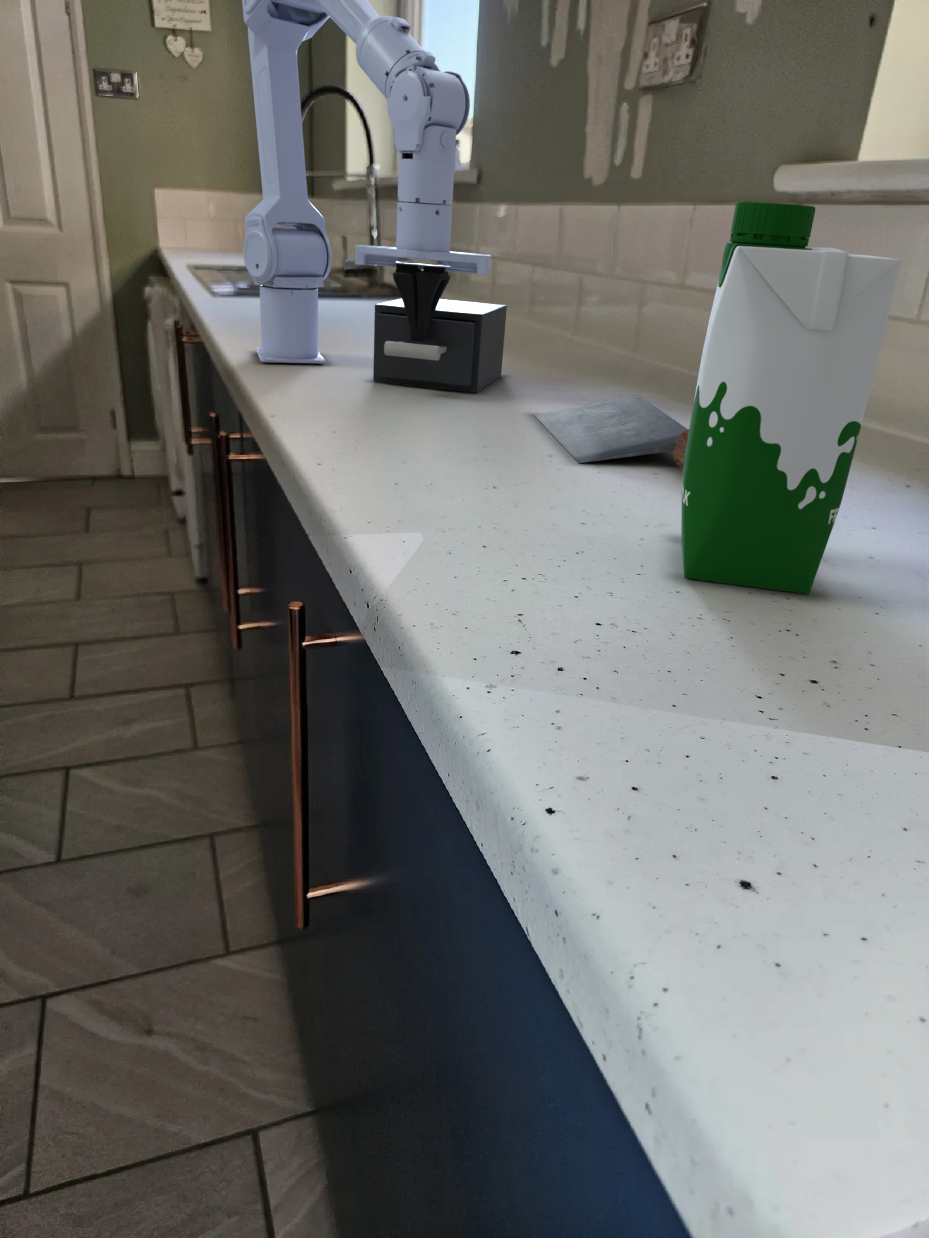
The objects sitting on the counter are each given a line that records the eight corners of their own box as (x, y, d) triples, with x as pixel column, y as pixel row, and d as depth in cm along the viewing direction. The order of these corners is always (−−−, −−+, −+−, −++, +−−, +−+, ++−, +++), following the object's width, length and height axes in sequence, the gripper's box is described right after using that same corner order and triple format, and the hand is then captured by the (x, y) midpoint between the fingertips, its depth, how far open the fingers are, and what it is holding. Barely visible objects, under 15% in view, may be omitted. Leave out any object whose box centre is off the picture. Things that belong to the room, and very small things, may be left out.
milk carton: (666, 534, 58) (723, 203, 50) (807, 552, 57) (890, 214, 48) (668, 582, 50) (735, 199, 42) (831, 604, 49) (935, 211, 40)
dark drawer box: (459, 393, 94) (463, 327, 91) (359, 382, 96) (360, 317, 94) (493, 370, 109) (497, 314, 107) (406, 361, 112) (408, 305, 109)
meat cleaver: (532, 415, 91) (536, 375, 89) (636, 418, 92) (642, 380, 91) (632, 524, 61) (641, 468, 59) (783, 526, 62) (796, 472, 61)
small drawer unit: (476, 393, 100) (482, 314, 96) (372, 381, 102) (374, 304, 99) (501, 375, 112) (507, 305, 108) (407, 365, 114) (410, 296, 111)
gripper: (345, 198, 88) (344, 337, 94) (484, 208, 85) (474, 350, 91) (368, 200, 95) (366, 331, 100) (499, 209, 92) (489, 343, 97)
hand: (419, 340), depth 96 cm, fingers closed
